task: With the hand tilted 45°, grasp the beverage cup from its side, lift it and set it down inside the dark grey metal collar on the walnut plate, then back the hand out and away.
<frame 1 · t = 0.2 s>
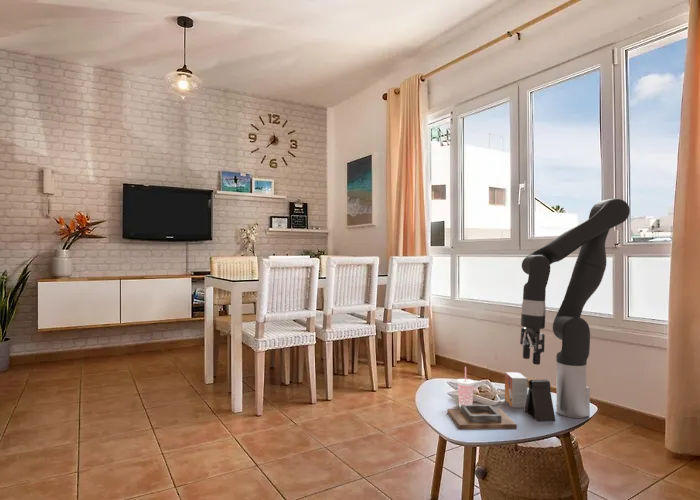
hand: (530, 361, 148), 18 cm above the table, tool pointing down, fingers open, 8 cm apart
beverage cup: (465, 406, 155), on the table
black tent sign: (539, 416, 146), on the table
walnut socket plate: (480, 419, 142), on the table
small box: (515, 404, 158), on the table
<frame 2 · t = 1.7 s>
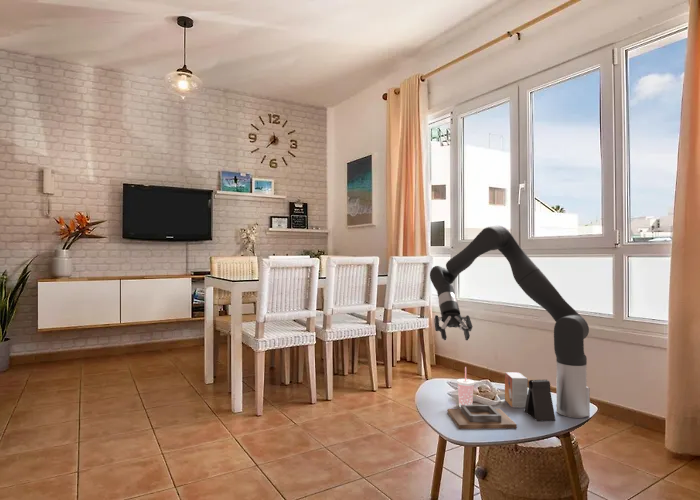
hand: (456, 339, 167), 22 cm above the table, tool tilted 45°, fingers open, 8 cm apart
nothing on the table moved.
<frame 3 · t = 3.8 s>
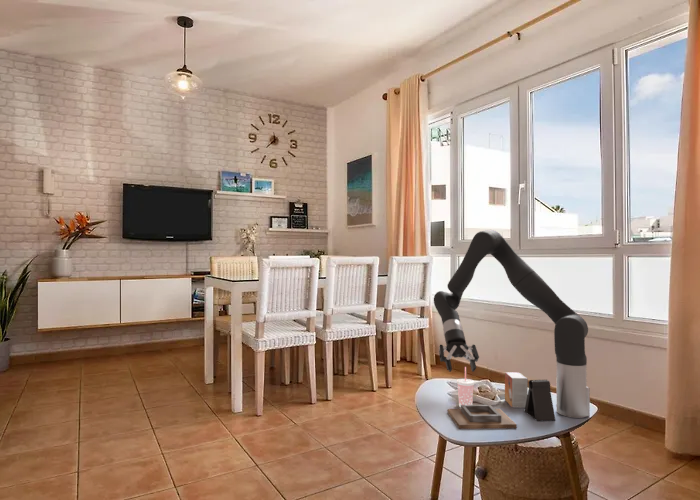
hand: (462, 370, 160), 12 cm above the table, tool tilted 45°, fingers open, 8 cm apart
nothing on the table moved.
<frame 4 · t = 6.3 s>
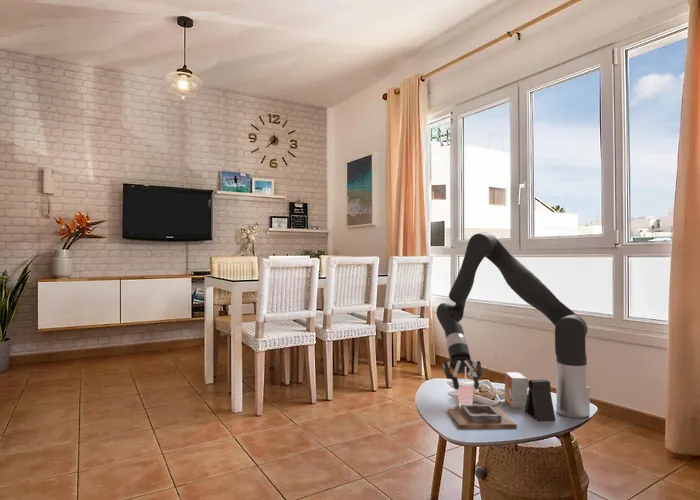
hand: (467, 388, 154), 7 cm above the table, tool tilted 45°, fingers closed on beverage cup, 6 cm apart
beverage cup: (465, 406, 155), on the table, touching gripper
everything else where it was.
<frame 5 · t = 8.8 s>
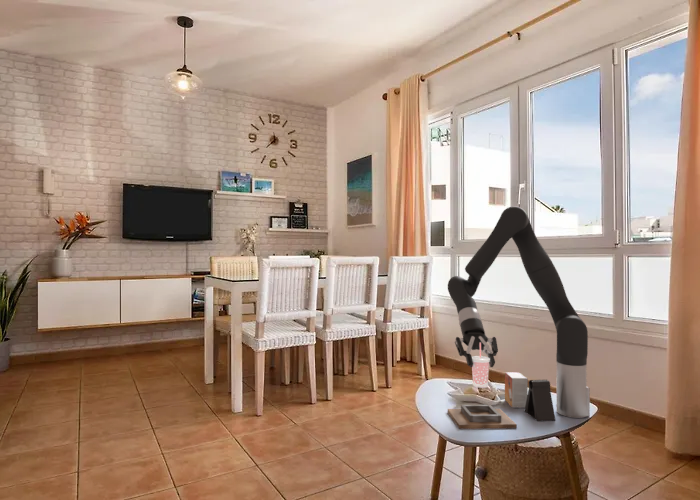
hand: (482, 365, 141), 18 cm above the table, tool tilted 45°, fingers closed on beverage cup, 6 cm apart
beverage cup: (480, 386, 143), point 11 cm above the table, touching gripper
everything else where it was.
when the fingers open (9 cm above the table, at t = 11.3 s): beverage cup drops 1 cm, resting on walnut socket plate.
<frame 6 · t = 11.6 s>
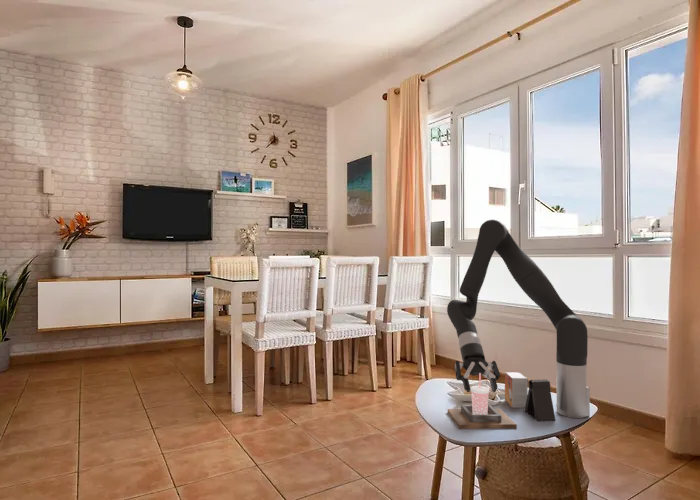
hand: (481, 391, 141), 10 cm above the table, tool tilted 45°, fingers open, 8 cm apart
beverage cup: (479, 416, 143), point 1 cm above the table, touching walnut socket plate
everything else where it was.
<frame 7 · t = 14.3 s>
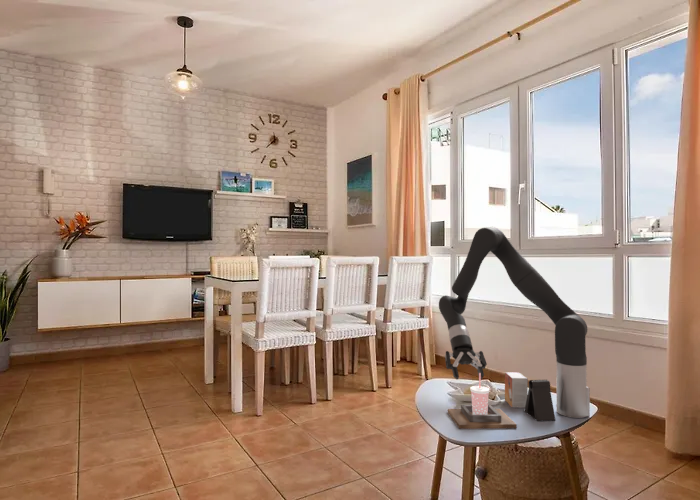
hand: (469, 378, 154), 10 cm above the table, tool tilted 45°, fingers open, 8 cm apart
nothing on the table moved.
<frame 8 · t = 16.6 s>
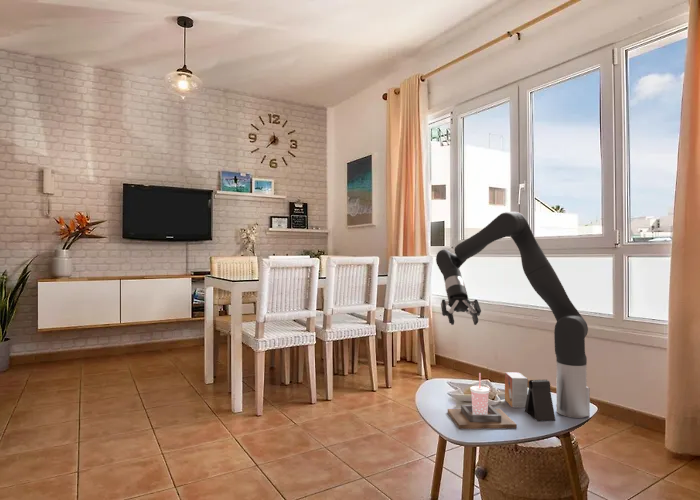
hand: (464, 323, 161), 29 cm above the table, tool tilted 45°, fingers open, 8 cm apart
nothing on the table moved.
at the end: beverage cup 0.2 cm off-centre on the walnut socket plate, point 1.0 cm above the walnut socket plate's base; beverage cup tilted 0°; the gripper is holding nothing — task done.
